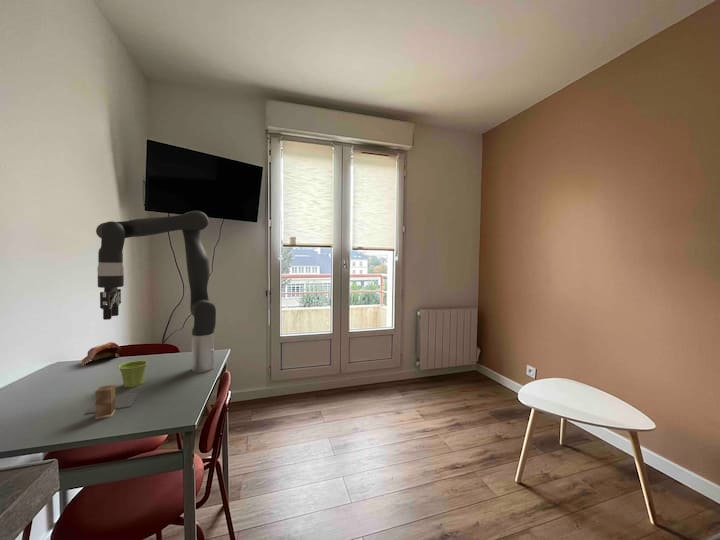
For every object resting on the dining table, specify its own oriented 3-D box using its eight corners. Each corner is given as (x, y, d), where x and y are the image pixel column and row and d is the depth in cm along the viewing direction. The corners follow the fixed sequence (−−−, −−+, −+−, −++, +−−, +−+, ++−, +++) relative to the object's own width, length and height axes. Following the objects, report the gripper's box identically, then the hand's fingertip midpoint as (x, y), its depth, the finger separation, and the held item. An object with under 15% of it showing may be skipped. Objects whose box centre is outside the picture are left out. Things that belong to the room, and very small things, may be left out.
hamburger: (115, 356, 154) (115, 337, 154) (127, 360, 148) (127, 340, 148) (76, 364, 140) (76, 344, 140) (87, 369, 134) (87, 348, 134)
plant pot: (116, 384, 118) (116, 364, 118) (144, 378, 125) (145, 358, 125) (120, 392, 112) (120, 370, 112) (149, 384, 119) (149, 364, 119)
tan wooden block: (115, 410, 98) (115, 384, 98) (111, 416, 94) (111, 389, 94) (100, 413, 96) (100, 386, 96) (95, 419, 92) (95, 391, 92)
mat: (139, 392, 111) (139, 391, 111) (130, 406, 101) (130, 405, 101) (99, 398, 106) (99, 397, 106) (85, 414, 95) (85, 413, 95)
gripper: (117, 275, 103) (117, 320, 104) (128, 273, 116) (129, 313, 117) (90, 275, 100) (90, 321, 101) (105, 273, 113) (105, 315, 113)
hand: (111, 317), depth 109 cm, fingers open, 7 cm apart
